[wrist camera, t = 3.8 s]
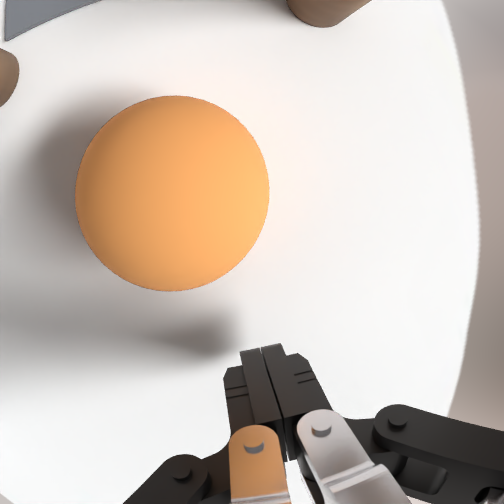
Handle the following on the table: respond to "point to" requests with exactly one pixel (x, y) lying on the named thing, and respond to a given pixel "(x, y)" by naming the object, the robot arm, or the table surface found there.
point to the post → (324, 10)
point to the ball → (172, 193)
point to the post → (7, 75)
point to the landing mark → (36, 13)
